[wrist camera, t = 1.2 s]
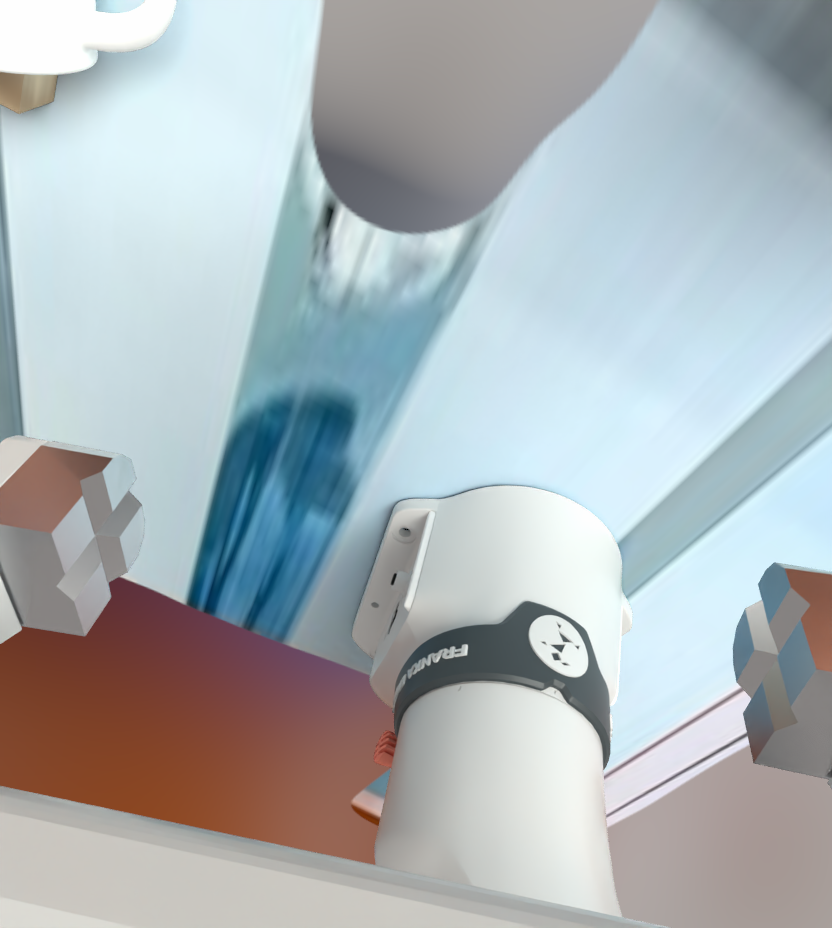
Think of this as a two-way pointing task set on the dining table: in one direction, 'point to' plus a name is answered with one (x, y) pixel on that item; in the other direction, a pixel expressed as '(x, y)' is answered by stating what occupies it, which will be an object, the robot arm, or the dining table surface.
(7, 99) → the guide channel
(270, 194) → the dining table surface
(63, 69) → the mug
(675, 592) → the dining table surface
